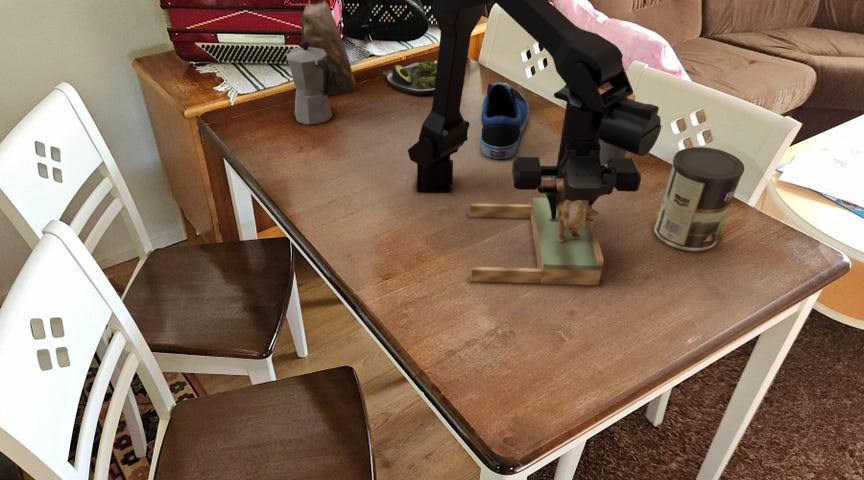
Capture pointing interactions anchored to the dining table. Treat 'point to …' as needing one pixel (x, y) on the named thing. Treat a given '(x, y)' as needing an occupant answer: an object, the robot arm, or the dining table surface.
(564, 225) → the lion figurine
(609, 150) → the bottle
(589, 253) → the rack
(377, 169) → the dining table surface
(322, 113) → the coffeepot
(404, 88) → the salad plate
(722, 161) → the coffee can
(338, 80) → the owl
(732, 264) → the dining table surface
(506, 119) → the shoe
